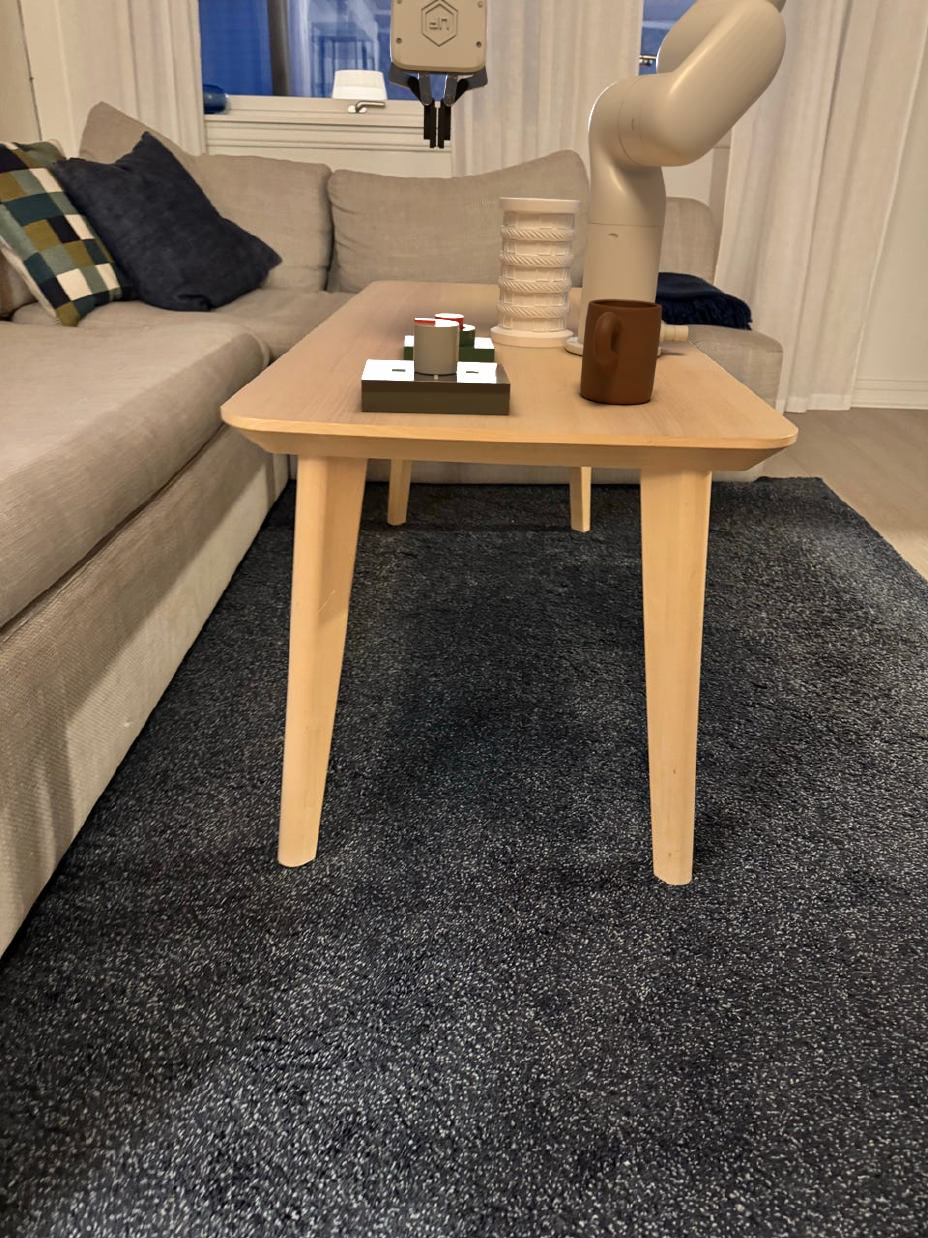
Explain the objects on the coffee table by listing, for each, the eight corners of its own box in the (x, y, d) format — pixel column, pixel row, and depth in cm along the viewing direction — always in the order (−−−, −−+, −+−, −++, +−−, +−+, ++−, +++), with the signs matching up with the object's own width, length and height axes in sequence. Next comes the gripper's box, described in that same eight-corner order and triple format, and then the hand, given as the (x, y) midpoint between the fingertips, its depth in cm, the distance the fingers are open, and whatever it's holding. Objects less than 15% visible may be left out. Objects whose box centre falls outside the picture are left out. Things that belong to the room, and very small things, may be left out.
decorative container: (582, 338, 130) (594, 200, 122) (558, 350, 120) (570, 201, 113) (506, 331, 134) (513, 196, 126) (477, 342, 124) (483, 197, 116)
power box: (489, 351, 118) (491, 323, 116) (494, 362, 111) (495, 333, 109) (405, 349, 117) (405, 320, 116) (403, 360, 110) (404, 330, 109)
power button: (462, 328, 114) (463, 314, 114) (464, 332, 111) (464, 318, 110) (434, 327, 114) (434, 313, 113) (434, 332, 111) (434, 317, 110)
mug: (631, 418, 87) (643, 315, 83) (555, 408, 90) (563, 308, 86) (659, 395, 97) (670, 302, 93) (590, 386, 100) (599, 296, 95)
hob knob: (457, 366, 91) (459, 317, 89) (457, 375, 87) (459, 323, 85) (414, 365, 91) (414, 315, 89) (412, 374, 87) (412, 322, 85)
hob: (500, 392, 95) (502, 361, 94) (509, 415, 86) (510, 381, 85) (367, 389, 95) (367, 358, 93) (361, 411, 86) (361, 377, 84)
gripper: (364, -68, 88) (367, 144, 96) (517, -60, 89) (506, 149, 97) (368, -51, 95) (370, 146, 103) (510, -44, 96) (501, 151, 104)
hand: (436, 147), depth 100 cm, fingers closed
